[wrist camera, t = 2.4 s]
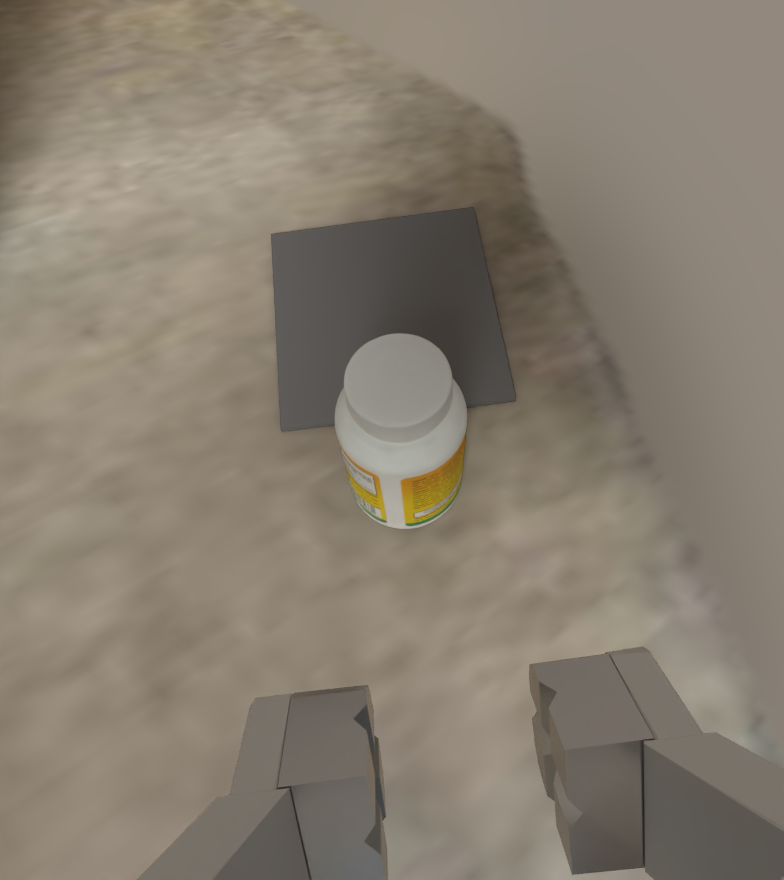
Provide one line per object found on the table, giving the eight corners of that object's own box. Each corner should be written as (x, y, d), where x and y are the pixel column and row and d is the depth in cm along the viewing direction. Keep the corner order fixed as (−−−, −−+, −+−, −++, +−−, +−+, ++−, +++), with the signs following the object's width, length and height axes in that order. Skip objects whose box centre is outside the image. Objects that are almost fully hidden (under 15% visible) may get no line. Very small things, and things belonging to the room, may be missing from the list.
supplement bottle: (341, 522, 33) (306, 432, 24) (364, 423, 35) (340, 309, 27) (453, 540, 32) (458, 454, 24) (469, 438, 35) (479, 325, 26)
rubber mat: (281, 431, 35) (280, 429, 35) (272, 237, 41) (271, 234, 41) (515, 401, 35) (516, 398, 35) (473, 210, 41) (473, 207, 41)
